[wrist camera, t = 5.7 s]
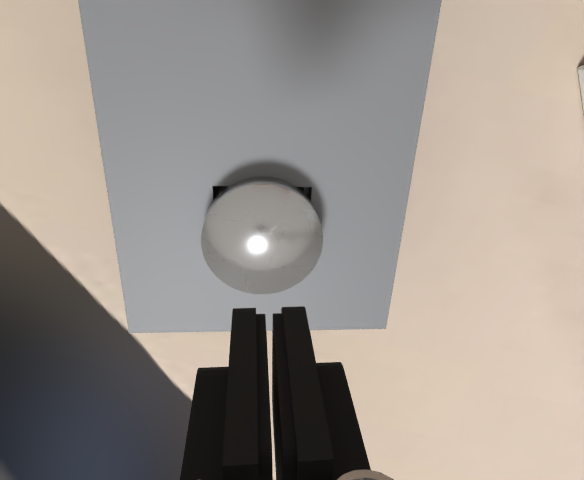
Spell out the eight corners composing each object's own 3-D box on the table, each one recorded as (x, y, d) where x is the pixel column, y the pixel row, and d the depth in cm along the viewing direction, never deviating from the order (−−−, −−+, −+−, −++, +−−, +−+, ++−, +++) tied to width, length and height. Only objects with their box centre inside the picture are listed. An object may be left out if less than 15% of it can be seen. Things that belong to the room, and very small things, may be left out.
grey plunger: (310, 149, 25) (327, 186, 19) (305, 238, 27) (318, 293, 22) (210, 147, 24) (197, 184, 19) (214, 238, 27) (203, 294, 21)
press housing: (440, -328, 17) (523, -483, 12) (361, 274, 30) (385, 328, 24) (77, -373, 16) (-9, -569, 11) (152, 275, 29) (129, 332, 23)
